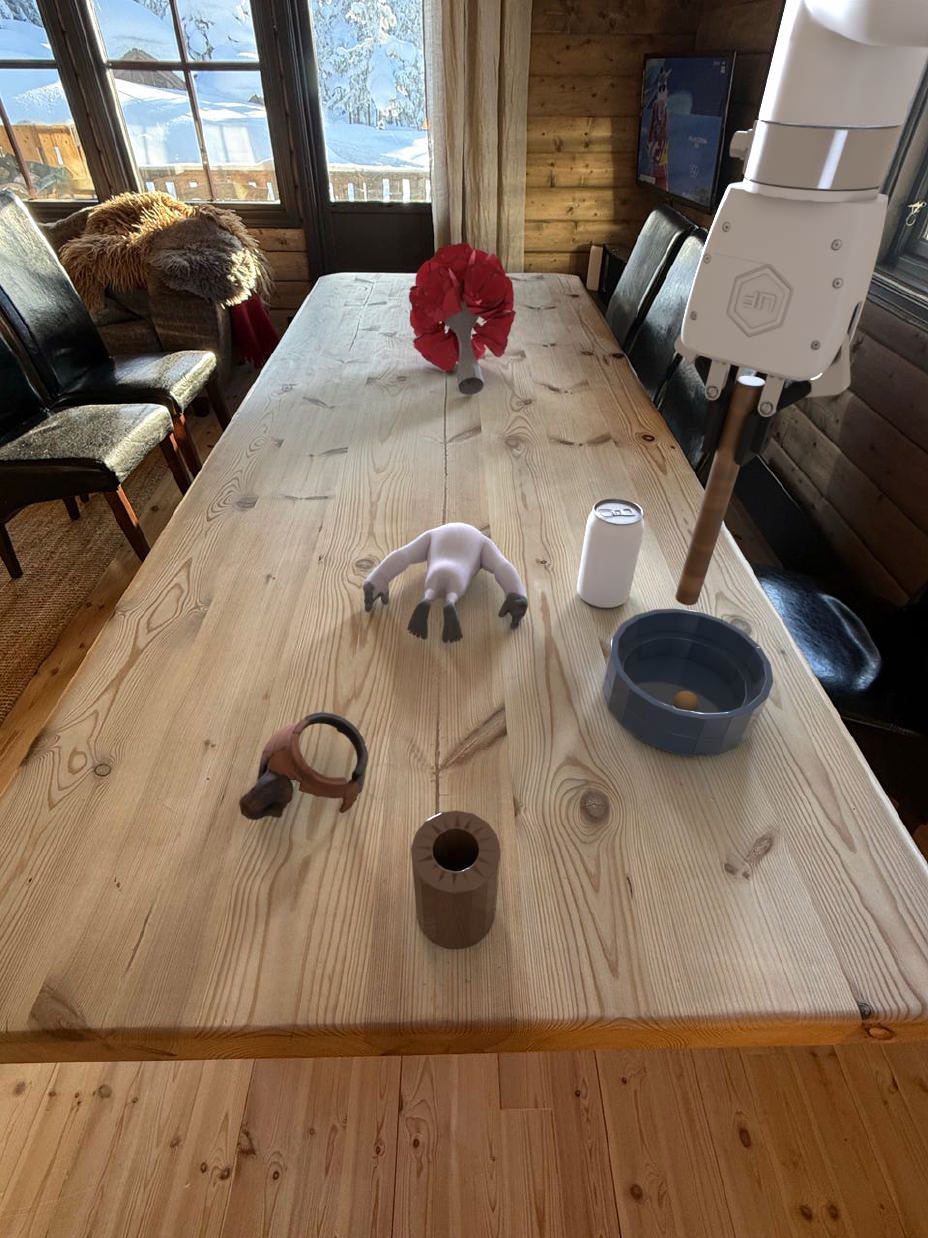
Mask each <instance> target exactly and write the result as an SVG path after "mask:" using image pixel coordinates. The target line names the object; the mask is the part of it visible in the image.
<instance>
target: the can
mask: <svg viewBox="0 0 928 1238" xmlns="http://www.w3.org/2000/svg"><path fill="white" fill-rule="evenodd" d="M643 517H644V511H643V509H642V508H641V506H640V505H638V504H637V503H635V502H634V501H632V500H628V499H625V498H619V497H608V498H607V497H606V498H603V499H600V500H598V501H597V502H595V503H594V504H593V507H592V511H591V512H590V513H589V515H588V517H587V521H586V527H585V532H584V538H583V545H582V551H581V558H580V564H579V565H580V566H579V571H578V575H577V576H578V577H577V584H576V591H577V594H578V595H579V597H580V598H581V599H582V600H583V601H584V602H585V603H586V604H588V605H590V606H592V607H595V608H599V609H614V608H617V607H620V606H621V605H623V604H625V603H626V602H627V601H628V599H629V597H630V593H631V590H632V585H633V581H634V577H635V573H636V567H637V563H638V558H639V554H640V550H641V546H642V540H643V537H644V536H643V535H644V531H645V521H644V519H643Z"/></svg>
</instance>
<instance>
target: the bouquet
mask: <svg viewBox="0 0 928 1238" xmlns="http://www.w3.org/2000/svg"><path fill="white" fill-rule="evenodd" d="M414 283H415V285H412V286H411V287H409V292H408V293H409V294H408V300H409V303H410V305H411V310H410V311H409V323H410V324H409V325H410V326H411V329H413V334H414V335H415V338H414V339H413V341H412V343H413V344H412V347H413V348H414V349H415V350H417V352H418V353H420V354H421V357H422V358H423V359H424V360H426V361H427V362H429V363H431V364H432V365H433V366H435V367H437V368H439V369H441V370H442V371H445V372H448V371H449V372H450V371H452V370H453V369H454V368H455V367H456V365H457V367H456V385H457V389H458V391H459V392H460V393H461V394H463V395H468V396H469V395H470V396H472V395H476V394H479V393H480V392H481V391H482V390H483V389H484V387H485V378H484V374H483V372H482V368H481V366H480V364H479V362H478V361H480V359H481V358H482V357H483V356H484V355H485V353H486V352H487V351H486V350H487V349H488V350H489V351H490V352H491V353H492V354H493V355H494V357H496V358H501V357H503V355H505V354H506V352H505V351H506V349H507V347H508V344H509V339H508V337H509V335H510V333H511V331H512V325H513V323H514V321H515V316H516V314H517V312H516V311H515V310H514V306H515V305H514V303H515V297H514V296H515V293H514V286H513V285H514V284H513V281H512V280H511V279H510V278H509V276H507V275H506V271H505V270H504V267H503V264H502V261H501V259H500V258H499V255H498V256H497V255H496V254H495V253H494V252H491V253H487V252H486V251H483V250H481V249H476V248H475V247H472V245H471V244H470V243H466V242H459V243H457V244H449V245H447V246H441V247H439V248H438V249H436V251H435V253H434V256H433V257H430V260H426V261H425V262H424V263H422V265H420V267H419V269H418V270H417V272H416V274H415V282H414ZM479 318H481V319H482V321H481V322H479V321H478V320H479ZM481 324H482V325H481ZM472 331H474V332H475V333H472Z"/></svg>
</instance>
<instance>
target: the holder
mask: <svg viewBox="0 0 928 1238" xmlns="http://www.w3.org/2000/svg"><path fill="white" fill-rule="evenodd" d="M501 853H502V850H501V846H500V841H499V837H498V834H497V833H496V831H495V830H494V829H493V827H492V826H491V825H490V823H489V822H488V821H487V820H485V819H483V818H482V817H480V816H478V815H477V814H474V813H473V812H468V811H464V810H459V809H456V810H449V811H447V810H446V811H442V812H440V813H438V814H436V815H434V816H431V817H430V818H428V819H427V820H425V821H424V823H422V825H420V827H419V828H418V830H416V831H415V834H414V837H413V841H412V843H411V846H410V855H411V856H410V857H411V865H412V866H411V867H412V876H413V877H412V878H413V889H414V890H413V891H414V900H415V901H414V902H415V911H416V919H417V922H418V926H419V928H420V929H421V931H422V933H423V934H424V936H426V938H427V939H428V940H429V941H430V942H432V943H434V944H435V945H437V946H439V947H441V948H443V949H448V950H464V949H468V948H470V947H473V946H475V945H477V944H478V943H480V941H482V940H483V939H484V938H486V936H487V935H488V933H489V932H490V930H491V929H492V926H493V924H494V921H495V917H496V911H497V904H498V891H499V890H498V889H499V880H500V879H499V878H500V868H501V867H500V866H501V864H500V863H501Z"/></svg>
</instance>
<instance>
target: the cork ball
mask: <svg viewBox="0 0 928 1238" xmlns="http://www.w3.org/2000/svg"><path fill="white" fill-rule="evenodd" d="M673 704H674V708H677V709H680V710H686V711H692V712H695V711H696V710H697V708H698V704H699V703H698V699H697V697H696V696H695V695H694V694H693V693H692V692H689V691H682V692H679V693H678V694H677V695H676V696H675V698H674V701H673Z"/></svg>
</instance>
